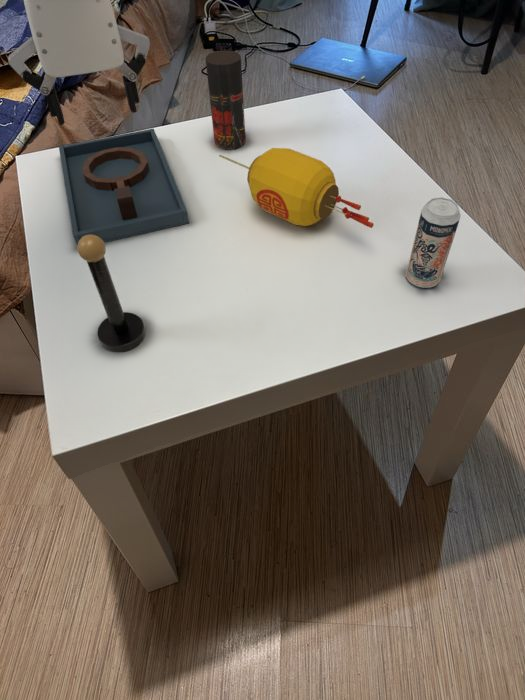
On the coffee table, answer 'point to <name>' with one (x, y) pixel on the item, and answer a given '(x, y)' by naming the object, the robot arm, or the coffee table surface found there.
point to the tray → (101, 205)
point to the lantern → (296, 187)
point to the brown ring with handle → (120, 183)
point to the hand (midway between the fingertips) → (97, 114)
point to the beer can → (433, 242)
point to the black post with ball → (110, 301)
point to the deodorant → (226, 98)
